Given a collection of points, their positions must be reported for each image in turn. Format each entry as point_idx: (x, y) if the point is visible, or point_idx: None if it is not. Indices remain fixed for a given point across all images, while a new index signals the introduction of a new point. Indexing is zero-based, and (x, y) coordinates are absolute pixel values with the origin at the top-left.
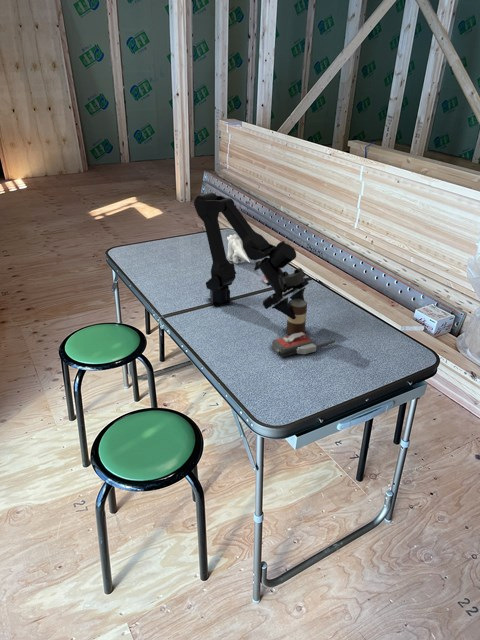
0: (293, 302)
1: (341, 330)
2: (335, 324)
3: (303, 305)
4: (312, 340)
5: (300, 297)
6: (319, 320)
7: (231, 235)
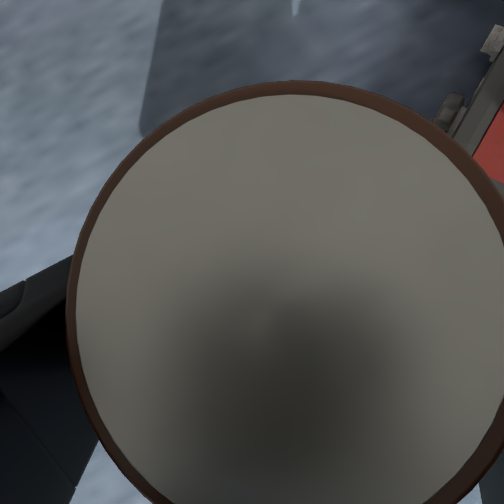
0: (322, 415)
1: (103, 21)
2: (45, 97)
3: (330, 115)
4: (495, 24)
5: (2, 367)
6: (46, 221)
7: None
